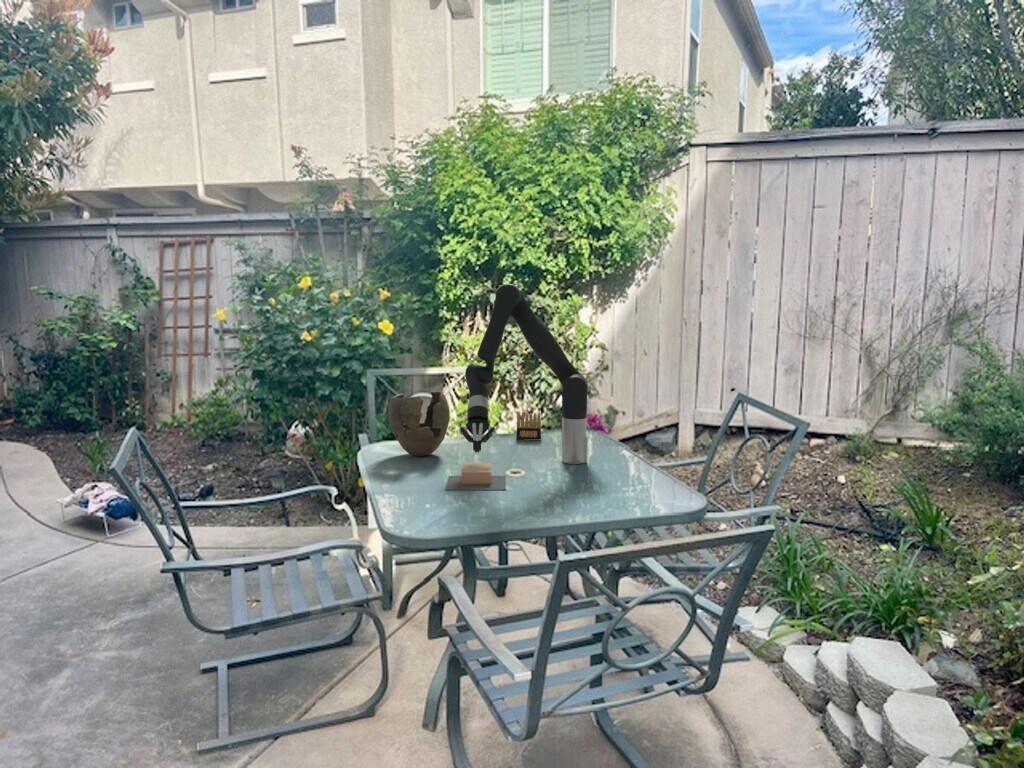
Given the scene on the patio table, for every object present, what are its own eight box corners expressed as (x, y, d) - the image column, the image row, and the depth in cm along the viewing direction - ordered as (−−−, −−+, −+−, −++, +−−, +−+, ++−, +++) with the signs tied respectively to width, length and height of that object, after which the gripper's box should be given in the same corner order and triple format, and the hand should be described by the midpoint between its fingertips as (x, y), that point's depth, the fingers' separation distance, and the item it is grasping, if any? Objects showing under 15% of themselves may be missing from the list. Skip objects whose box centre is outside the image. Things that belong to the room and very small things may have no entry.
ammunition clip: (541, 439, 306) (541, 411, 304) (541, 440, 304) (541, 412, 302) (516, 438, 306) (516, 411, 304) (516, 439, 304) (516, 412, 303)
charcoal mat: (505, 476, 250) (505, 475, 250) (505, 490, 234) (505, 489, 234) (448, 476, 250) (448, 475, 249) (445, 490, 234) (445, 489, 234)
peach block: (491, 462, 251) (490, 472, 239) (491, 474, 252) (490, 483, 240) (463, 462, 251) (461, 472, 239) (463, 474, 252) (461, 484, 240)
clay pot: (439, 464, 265) (438, 398, 261) (379, 460, 270) (377, 396, 266) (457, 448, 288) (456, 388, 284) (401, 445, 293) (399, 386, 289)
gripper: (459, 404, 255) (457, 446, 245) (496, 404, 255) (495, 446, 245) (460, 416, 261) (458, 456, 251) (496, 416, 261) (496, 456, 251)
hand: (477, 451), depth 248 cm, fingers closed
